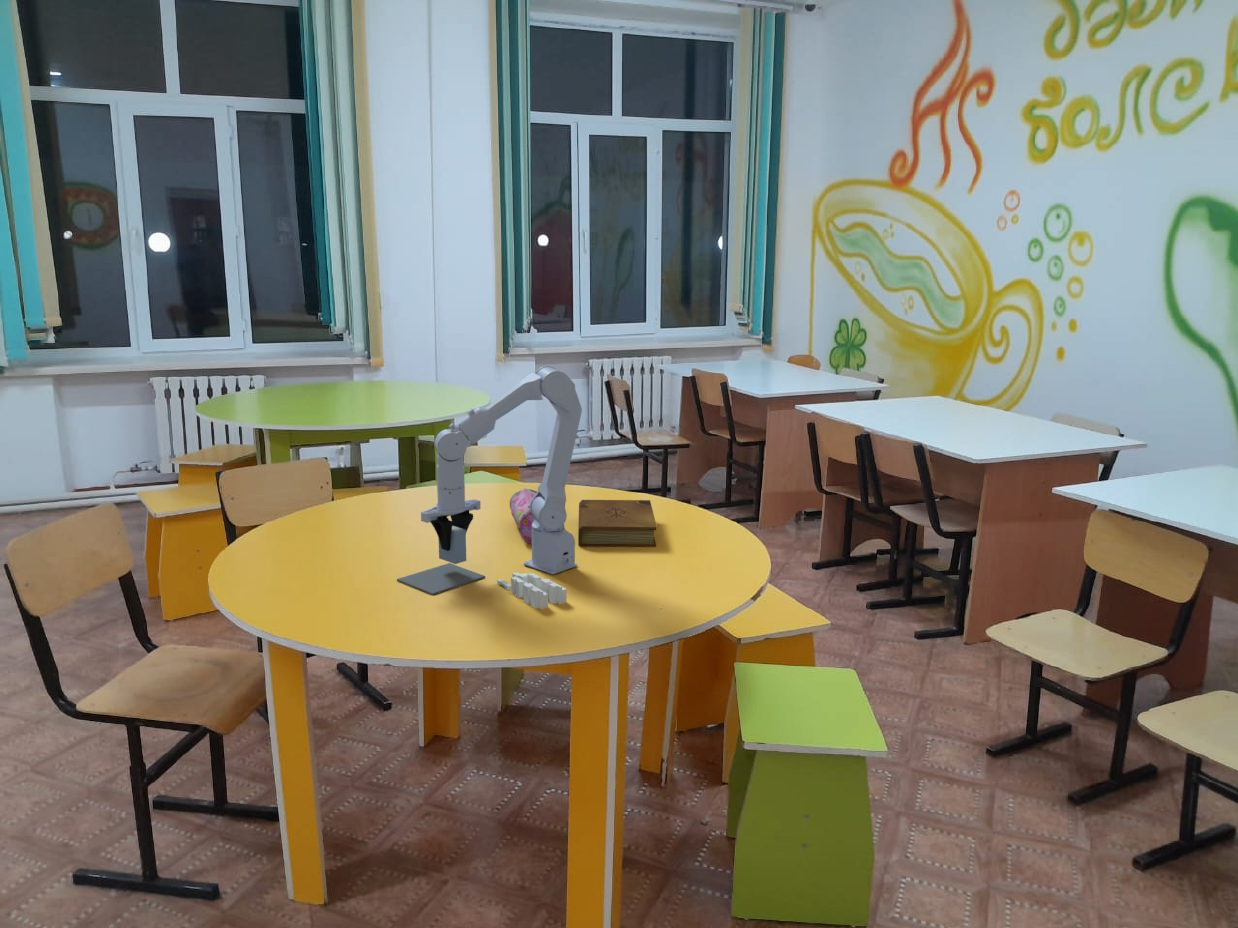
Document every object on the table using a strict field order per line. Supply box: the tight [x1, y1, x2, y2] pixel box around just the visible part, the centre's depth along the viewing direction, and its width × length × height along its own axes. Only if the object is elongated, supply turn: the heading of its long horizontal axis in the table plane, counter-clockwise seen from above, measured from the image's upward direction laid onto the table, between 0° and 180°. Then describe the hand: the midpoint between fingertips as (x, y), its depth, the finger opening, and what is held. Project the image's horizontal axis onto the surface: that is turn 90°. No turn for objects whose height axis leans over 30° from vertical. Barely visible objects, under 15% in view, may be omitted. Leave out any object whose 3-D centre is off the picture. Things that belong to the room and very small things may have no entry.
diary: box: [577, 499, 658, 548], centre depth 226 cm, size 23×19×6 cm
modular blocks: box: [496, 572, 568, 610], centre depth 186 cm, size 20×7×4 cm, turn 39°
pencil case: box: [509, 488, 537, 545], centre depth 225 cm, size 21×9×9 cm, turn 12°
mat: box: [396, 562, 486, 596], centre depth 192 cm, size 12×14×1 cm
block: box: [438, 526, 467, 565], centre depth 194 cm, size 6×3×7 cm, turn 49°
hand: (452, 547), depth 194 cm, fingers closed on block, 3 cm apart
